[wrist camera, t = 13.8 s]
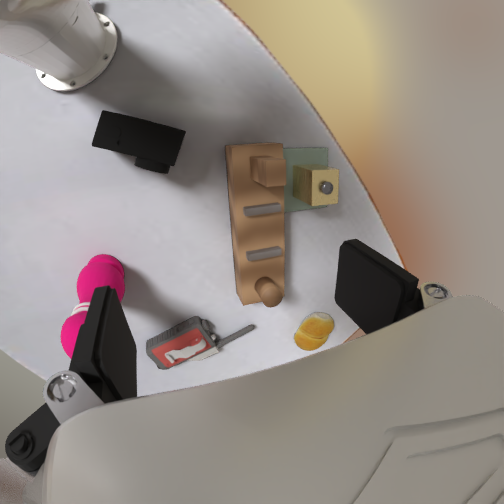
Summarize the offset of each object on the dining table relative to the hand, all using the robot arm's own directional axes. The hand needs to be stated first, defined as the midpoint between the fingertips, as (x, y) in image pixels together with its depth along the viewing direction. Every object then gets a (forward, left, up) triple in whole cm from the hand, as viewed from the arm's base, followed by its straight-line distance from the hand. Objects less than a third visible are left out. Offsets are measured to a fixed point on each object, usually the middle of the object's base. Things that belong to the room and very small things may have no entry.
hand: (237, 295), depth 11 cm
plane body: (+8, +10, -30) cm, 33 cm away
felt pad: (+2, +19, -30) cm, 36 cm away
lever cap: (+2, +19, -30) cm, 35 cm away
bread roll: (+33, +22, -31) cm, 50 cm away
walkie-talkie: (+28, -2, -31) cm, 42 cm away
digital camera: (-6, -5, -31) cm, 32 cm away
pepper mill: (+12, -14, -31) cm, 36 cm away
